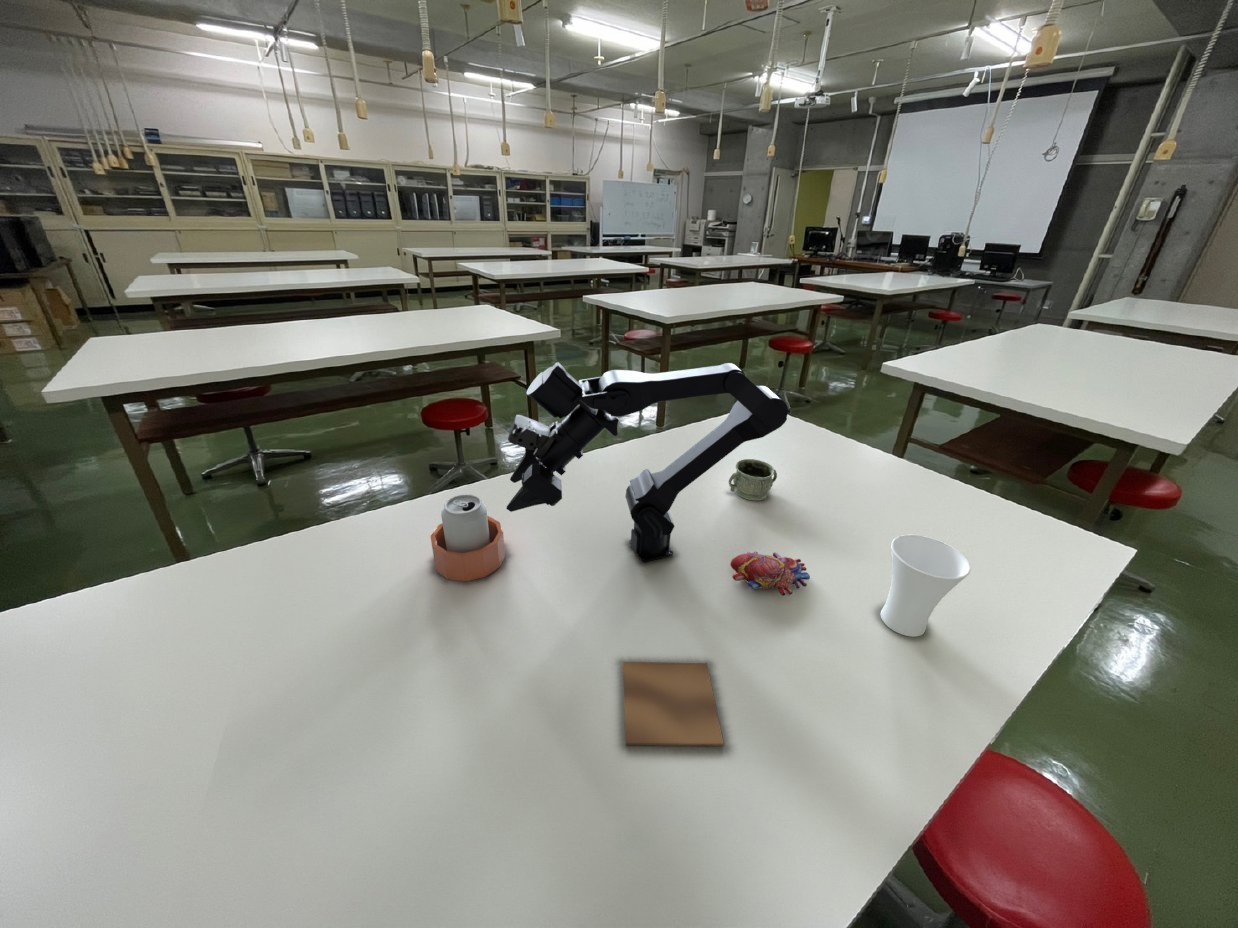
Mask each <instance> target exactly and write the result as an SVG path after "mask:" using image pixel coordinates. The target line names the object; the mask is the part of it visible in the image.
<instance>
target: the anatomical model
mask: <svg viewBox="0 0 1238 928" xmlns="http://www.w3.org/2000/svg"><path fill="white" fill-rule="evenodd" d="M730 567H731V568H732V570H733V571H734V572H736V573H734V574H733V575H732V579H733V580H734V581H735V582H739V581H745V582H747V583H746V584H747V586H748V587H749V588H750V589H751V590H757V589H766V590H767V589H776V590H778V591H779V594H780V595H781V596H786V594H788V595H789V596H791V595H792V594H793V591H792V590H791V588H790V587H791V586H793V585H794V587H795V588H796V589H800V588H801V586H802V587H805V588H806V587H807V585H808V584H807V582H806V581H807V580H810V579H811V575H810V574H809V572H806V571H807V567H805V563H803V562H802V560H801V559H800V558H796V559H793V558H791V557H787V556H781V555H780V554H779V553H778V552H776V551H774V552H773V553H772V555H769V554H762V553H758V552H757V551H753V552H750V551H747V552H746V553H742V554H738V555H737V556H735V557H733V558H732V559H731V561H730ZM805 580H806V581H805ZM800 585H801V586H800Z"/></svg>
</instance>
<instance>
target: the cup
mask: <svg viewBox="0 0 1238 928" xmlns="http://www.w3.org/2000/svg"><path fill="white" fill-rule="evenodd" d="M890 553H891V582H890V588H889V592H888V595H887V599H886V602H885V603H884V605H883V607H882V609H881V611H880V618H881V620H882V622H883V623H884V624H885V626H887V627H888V628H889V629H891V630H892V631H894V632H896V633H898V634H900V635H902V636H906V637H911V638H912V637H913V638H915V637H921V636H922V635H923V634H925V632H926V629H927V625H928V622H929V618H930V617H931V615H932V614H933V612H934V610H935V608H936V607H937V606H938V605H939V603H940V602H941V601H942V599H943V598H944V597H946V595H948V594H949V593H950V592H951V591H952V590H953V589H955V587H956V586H957V585H958V584H960V583H961V582H962V581H963V580H965V579H966V578H967V577H968V576H969V575H970V573H971V571H972V567H971V563H970V562H969V560H968V559H967V557H966V556H965V555H964V554H963V553H962V552H961V551H959V550H958V549H957V548H955V547H953V546H952V545H950V544H948V543H945V542H944V541H941V540H939V539H936V538H934V537H930V536H926V535H922V534H916V533H915V534H910V533H907V534H901V535H898V536H897V537H894V538H893V539H892V541H891V542H890Z"/></svg>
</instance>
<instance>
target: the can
mask: <svg viewBox="0 0 1238 928" xmlns="http://www.w3.org/2000/svg"><path fill="white" fill-rule="evenodd" d="M487 512H488V509H487V506H486V504H485V503H484V502H483V500H482V499H481V497H480V496H478V495H475V494H471V493H462V494H457V495H454V496H452V497H450V498H449V499H447V500H445V503H444V504H443V508H442V510H441V514H440V516H441V524H442V523H443V529H444V536H445V542H446V548H447V550H446V551H448V552H457V553H466V552H471V551H475V550H480V549H482V548H483V547H485V546H487V545H488V544H490V537H489V528H488V518H487V516H488V513H487Z"/></svg>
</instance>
